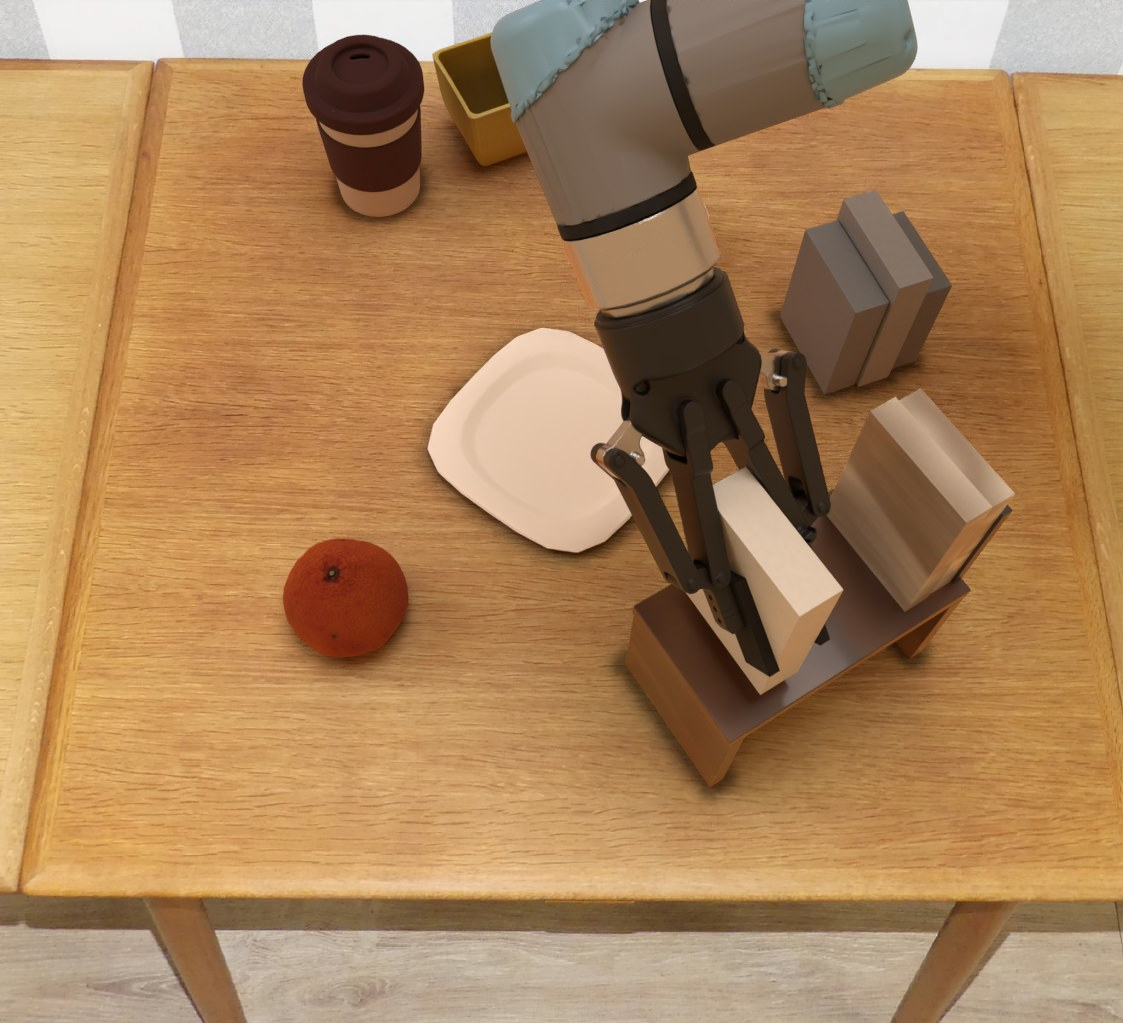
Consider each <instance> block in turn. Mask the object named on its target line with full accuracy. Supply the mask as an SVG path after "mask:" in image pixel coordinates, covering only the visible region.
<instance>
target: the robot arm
mask: <svg viewBox="0 0 1123 1023" xmlns="http://www.w3.org/2000/svg"><path fill="white" fill-rule="evenodd" d="M491 33H492V35H491V41H490V42H491V50H492V53H493V56H494V59H495V62H496V65H497V68H498V71H499V74H500V77H501V80H502V83H503V86H504V89H505V92H506V95H507V98H508V102H509V105H510V108H511V111H512V112H511V115H510V116H511V118H512V121H513V124H515V123H516V126H517V128H518V131H519V133H520V136H521V138H522V141H523V143H524V146H525V148H526V150H527V152H526V154H527V155H528V158H529V160H530V162H531V165H532V167H533V169H534V173H535V175H536V177H537V179H538V182H539V185H540V187H541V190H542V192H543V195H544V197H545V199H546V201H547V202H546V203H547V205H548V207H549V209H550V211H551V214H552V217H553V219H554V221H555V224H556V227H557V230H558V233H559V235H560V238H561V242H562V244H563V247H564V250H565V253H566V255H567V257H568V260H569V262H570V265H571V268H572V270H573V272H574V275H575V278H576V280H577V283H578V286H579V288H580V290H581V293H582V296H583V299H584V301H585V303H586V306H587V307H588V308H590V309H592V310H595V311H598V312H597V314H596V315H595V320H594V323H593V325H594V328H595V331H596V334H597V336H598V338H599V341H600V343H601V346H602V348H603V349H604V352H605V354H606V357H607V359H608V362H609V364H610V367H611V370H612V372H613V375H614V377H615V379H616V381H617V383H618V385H619V387H620V390H621V395H622V405H621V417H622V420H623V423H622V424H621V425H620V427H619V428H618V429H617V430H616V432H615V433H614V434H613V435H612V437H611V438H610V439H609V441H608V442H607V443H606V444H605V443H598V444H596V445H594V446H593V448H592V449H591V454H590V456H591V459H592V460H593V462H594V463H595V464H596V465H598V466H599V467H600V468H601V469H602V470H603V471H604V472H605V473H607V474H608V475H609V476H610V477H611V478H612V479H613V480H614V481H615V483H616V485H617V487H618V489H619V491H620V493H621V495H622V497H623V499H624V501H625V503H626V505H627V507H628V509H629V511H630V513H631V514H632V519H633V520H634V522H635V524H636V526H637V528H638V530H639V532H640V534H641V536H642V538H643V540H644V542H645V544H646V546H647V549H648V551H650V554H651V555H652V557H653V560H654V562H655V564H656V566H657V568H658V570H659V572H660V574H661V576H662V577H663V579H664V580H665V582H667V583H669V585H670V584H672V585H674V586H675V587H677V588H679V589H681V590H682V591H684V592H686V593H688V594H694V593H696V592H698V591H699V590H700V589H703V591H704V594H705V596H706V599H707V602H708V604H709V607H710V609H711V612H712V615H713V617H714V620H715V622H716V623H717V624H718V625H719V626H720V627H721V628H723V629H725V630H726V631H728V632H730V633H731V634H735V635H736V638H737V641H738V643H739V646H740V649H741V651H742V654H743V656H744V659H745V662H746V663H748V664H749V665H751V666H753V667H754V668H756V669H757V670H759V671H761V672H762V673H764V674H765V675H767V676H769V677H771V676H773V675H774V674H776V673H777V672H779V671H780V669H779V666H778V664H777V661H776V659H775V656H774V653H773V651H772V648H771V645H770V643H769V640H768V637H767V634H766V632H765V629H764V626H763V624H762V621H761V618H760V615H759V613H758V610H757V607H756V605H755V602H754V599H753V596H752V594H751V591H750V588H749V586H748V583H747V580H746V578H745V577H743V576H741V575H739V574H737V573H735V572H733V571H731V570H730V566H729V561H728V556H727V551H726V546H725V542H724V537H723V532H722V527H721V522H720V517H719V513H718V508H717V503H716V498H715V493H714V488H713V478H712V472H713V471H714V464H713V459H712V455H711V452H712V450H714V449H715V448H716V447H717V446H718V445H719V444H720V443H722V444H723V445H724V446H725V448H726V449H727V452H728V453H729V455H730V456H731V458H732V460H733V461H734V464H735V466H736V468H737V470H740V469H742V468H744V467H745V466H746V467H747V468H748V470H749V471H750V472H751V473H752V475H753V476H754V477H755V478H756V480H757V481H758V482H759V483H760V485H761V486H762V487H763V489H764V490H765V491H766V492H767V494H768V495H769V496H770V497H771V499H772V500H773V501H774V502H775V504H776V505H777V506H778V507H779V509H780V510H781V511H782V513H783V514H784V515H785V516H786V518H787V519H788V520H789V521H790V523H791V524H792V525H793V526H794V528H795V529H796V530H797V532H798V533H799V534H800V535H801V537H802V538H803V539H804V540H805V542H806V543H807V544H808V545H809V547H810V548H811V549H812V546H811V543H813V542H814V541H815V539H816V537H817V529H816V528H814V527H812V526H811V525H812V524H813V523H814V522H815V520H816V519H817V518H818V517H825V516H826V515H827V514H828V513H829V511H830V509H831V502H830V498H829V494H828V492H829V490H828V486H827V483H826V482H827V481H826V478H825V473H824V469H823V464H822V461H821V457H820V453H819V449H818V444H817V438H816V435H815V432H814V427H813V423H812V418H811V415H810V414H811V413H810V411H809V406H808V402H807V397H806V394H805V393H806V379H807V367H808V365H807V361H806V358H805V356H804V355H803V354H802V353H800V352H797V351H791V350H785V349H780V348H772V349H770V350H768V351H767V352H760V350H759V349H758V348H757V347H756V346H755V345H754V344H753V343H752V342H750V340H749V339H748V338H747V336H746V334H745V322H744V318H743V316H742V312H741V310H740V308H739V303H738V301H737V299H736V296H735V292H734V289H733V286H732V284H731V281H730V277H729V275H728V273H727V272H726V271H725V270H722V268H719V267H717V266H716V265H717V264H718V262H719V260H720V258H721V256H722V253H721V251H720V247H719V245H718V242H717V239H716V236H715V234H714V231H713V228H712V225H711V222H710V218H709V219H708V216H707V213H706V210H705V207H704V205H705V203H704V201H703V199H702V196H701V193H700V190H699V188H698V183H697V181H696V178H695V175H694V173H693V171H692V168H691V163H690V159H689V157H690V156H691V155H694V154H697V153H700V152H702V151H705V150H708V149H711V148H715V147H717V146H720V145H723V144H725V143H728V142H731V141H734V140H737V139H739V138H743V137H745V136H749V135H751V134H754V133H757V132H760V131H763V130H765V129H769V128H771V127H774V126H777V125H780V124H783V123H785V122H789V121H791V120H794V119H797V118H800V117H803V116H807V115H809V114H812V113H815V112H818V111H820V110H824V109H832V108H835V107H837V106H841V105H842V104H843V103H845V101H846V100H848V99H850V98H852V97H855V96H857V95H859V94H862V93H864V92H866V91H868V90H871V89H873V88H877V87H878V86H880V85H883V84H885V83H888V82H890V81H892V80H895V79H897V78H899V77H901V76H903V75H904V74H906V73H907V72H908V71H909V70H910V69H911V68H912V66H913V64H914V62H915V60H916V57H917V54H918V50H919V46H918V45H919V44H918V38H917V33H916V29H915V24H914V21H913V16H912V13H911V8H910V4H909V1H908V0H642V1H641V2H640V0H538V1H535V2H533V3H530V4H528V5H526V6H523V7H521V8H518V9H516V10H513V11H511V12H509V13H507V14H505V15H504V16H502V17H501V18H500V19H499V20H498V21H497V22H496V23H495V25H494V26H493V29H492V31H491ZM703 203H704V204H703ZM758 383H759V385H760V387H761V388H762V389H763V396H764V401H765V402H764V403H765V406H766V410H767V414H768V418H769V422H770V427H771V429H772V430H771V431H772V434H773V439H774V441H775V442H774V443H775V447H776V451H777V454H778V458H779V462H780V466H781V469H782V470H780V468H779V466H778V464H777V463H776V461H775V458H774V457H773V455H772V452H771V451H770V449H769V448H768V445H767V444H766V441H765V439H766V434H765V432H764V430H763V428H762V426H761V424H760V422H759V420H758V419H757V417H756V415H755V413H754V411H753V405H754V401H755V397H756V393H757V389H758ZM642 436H643V437H645V438H646V439H648V440H650V441H651V442H653V443H655V444H656V445H658V446H660V447H661V448H662V450H663V455H664V460H665V463H666V466H667V468H668V469H669V472H670V475H671V479H672V483H673V487H674V492H675V497H676V501H677V506H678V511H679V515H680V520H681V524H682V530H683V533H684V539H685V541H686V542H684V541H683V539H682V536H681V535H680V532H679V530H678V529H677V527H676V524H675V523H674V520H673V518H672V517H671V514H670V511H669V509H668V508H667V506H666V504H665V503H664V502H665V501H664V500H663V498H662V496H661V494H660V492H659V490H658V488H657V487H656V486H655V484H654V482H653V480H652V479H651V477H650V476H649V474H648V473H647V472H646V471H645V469H644V468H643V467H642V465H643V464H644V463H645V456H644V453H643V451H642V449H641V447H640V440H641V437H642ZM781 471H782V472H781ZM812 551H813V549H812ZM829 640H830V637H829V634H828V631H827V628H826V626H825V624H824V626H823V628H822V629H821V631H820V633H819V635H818V636H817V638H816V640H815V642H814V643H816V644H818V645H820V646H821V645H822V644H824V643H825V642H827V641H829Z"/></svg>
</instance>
